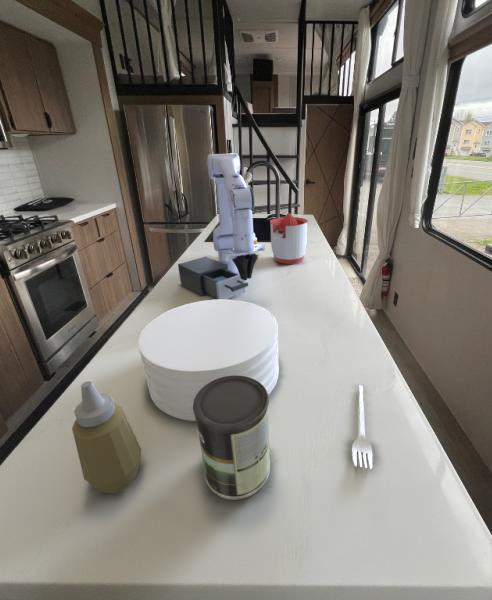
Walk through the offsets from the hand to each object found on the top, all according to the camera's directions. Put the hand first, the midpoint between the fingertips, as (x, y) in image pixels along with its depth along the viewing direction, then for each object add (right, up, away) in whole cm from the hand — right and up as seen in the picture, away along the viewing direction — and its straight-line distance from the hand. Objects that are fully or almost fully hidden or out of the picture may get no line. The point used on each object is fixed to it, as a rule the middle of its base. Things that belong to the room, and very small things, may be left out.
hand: (245, 278), depth 97 cm
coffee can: (+3, -33, -46) cm, 57 cm away
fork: (+24, -29, -39) cm, 54 cm away
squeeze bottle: (-16, -34, -47) cm, 60 cm away
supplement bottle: (-1, +13, +50) cm, 52 cm away
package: (-9, -3, +12) cm, 15 cm away
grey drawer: (-8, -4, +11) cm, 14 cm away
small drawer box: (-16, -1, +20) cm, 26 cm away
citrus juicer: (+15, +10, +43) cm, 46 cm away
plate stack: (-5, -23, -25) cm, 34 cm away
